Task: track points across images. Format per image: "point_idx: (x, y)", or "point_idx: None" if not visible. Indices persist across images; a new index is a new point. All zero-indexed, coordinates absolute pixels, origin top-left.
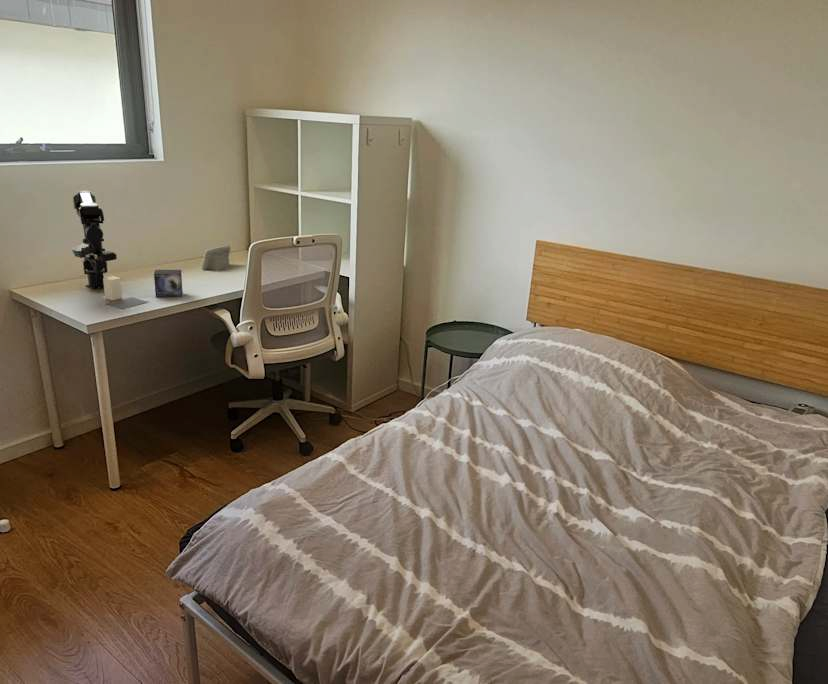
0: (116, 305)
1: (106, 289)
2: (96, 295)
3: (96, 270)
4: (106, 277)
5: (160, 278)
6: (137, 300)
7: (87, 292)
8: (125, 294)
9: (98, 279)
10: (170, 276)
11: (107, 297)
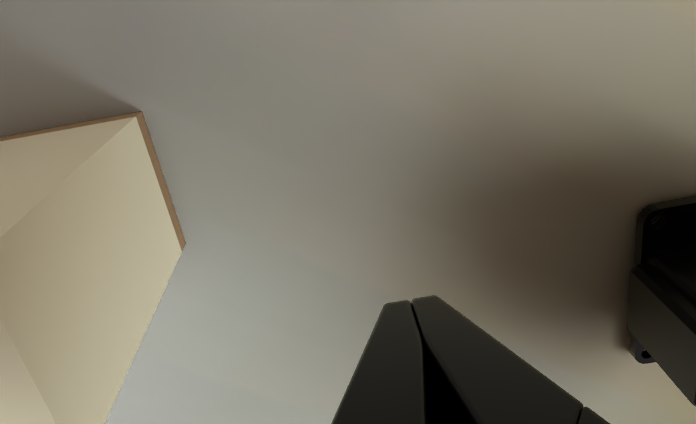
0: None
1: (22, 174)
2: (390, 107)
3: (370, 359)
4: (12, 347)
5: None
6: None
7: (593, 80)
8: (227, 359)
9: (694, 326)
10: None
11: (79, 131)
